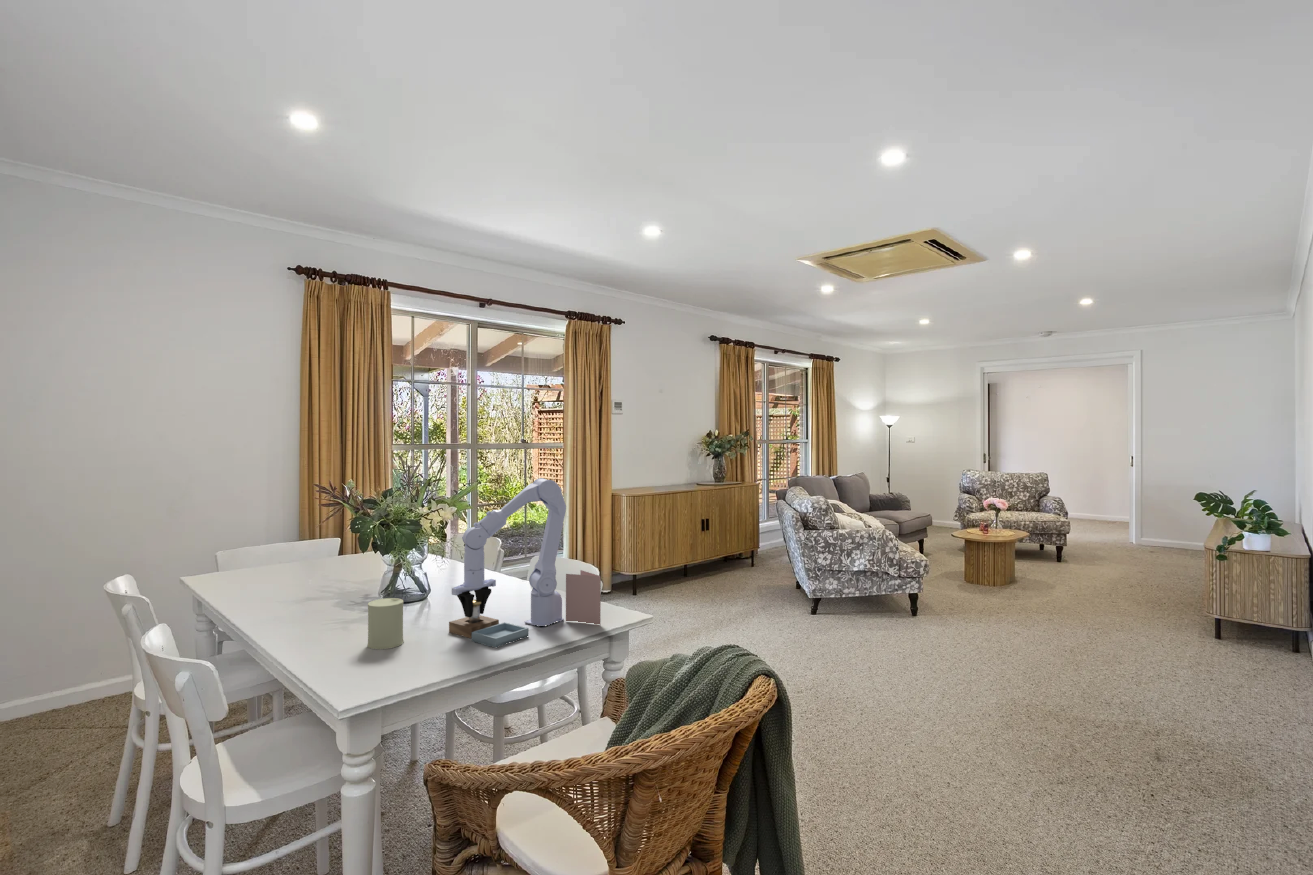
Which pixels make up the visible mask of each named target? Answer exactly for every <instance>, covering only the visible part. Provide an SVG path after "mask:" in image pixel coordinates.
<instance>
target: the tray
mask: <svg viewBox="0 0 1313 875" xmlns="http://www.w3.org/2000/svg"><path fill="white" fill-rule="evenodd" d="M529 631H530V630H529V627H525V626H522V625H517V624H514V623H510V622H501V623H499V624H497V625H494V626H491V627H487V628H484V629H480V630H477V631H474V632H472V638H471V642H474V643H477V642H478V643H477V644H480V643H481V645H483V646H488V647H491V646H493V647H492V648H494V647H497V648H499V647H498V646H500V647H503V646H505V644H506V643H509V642H512V643H514V642H513V641H515V642H517V641H516V640H518V639H520V638H524V639H526V638H525V637H527V636H529V635H530V634H529ZM527 638H528V637H527ZM518 641H519V640H518ZM509 644H510V643H509ZM502 645H503V646H502ZM506 645H507V644H506Z"/></svg>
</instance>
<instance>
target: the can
mask: <svg viewBox="0 0 1313 875" xmlns="http://www.w3.org/2000/svg"><path fill="white" fill-rule="evenodd" d="M404 601H405V600H403V599H401V598H397V597H396V598H395V597H387V598H386V597H385V598H379V599H373V600H372V601H369V602H368V603H367V630H368V631H367V648H368V649H372V650H388V649H389V650H390V649H393V648H397V647H400V646H402V645H403V644H404Z"/></svg>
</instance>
